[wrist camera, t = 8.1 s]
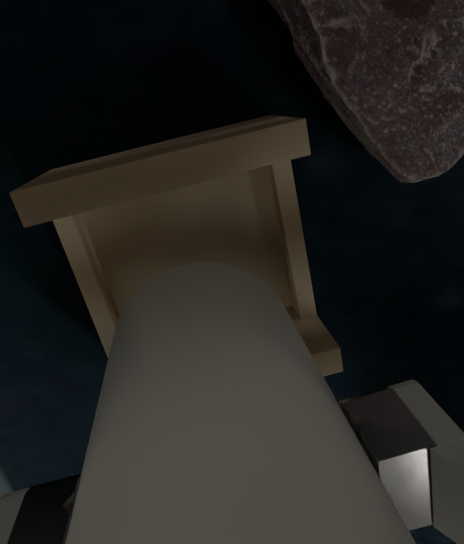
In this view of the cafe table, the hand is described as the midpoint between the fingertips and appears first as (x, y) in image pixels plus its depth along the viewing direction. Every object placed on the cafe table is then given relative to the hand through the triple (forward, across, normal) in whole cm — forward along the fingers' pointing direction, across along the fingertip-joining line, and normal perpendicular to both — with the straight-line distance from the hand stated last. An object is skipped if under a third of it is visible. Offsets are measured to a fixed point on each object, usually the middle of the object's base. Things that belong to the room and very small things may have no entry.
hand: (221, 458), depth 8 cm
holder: (+14, 0, 0) cm, 14 cm away
